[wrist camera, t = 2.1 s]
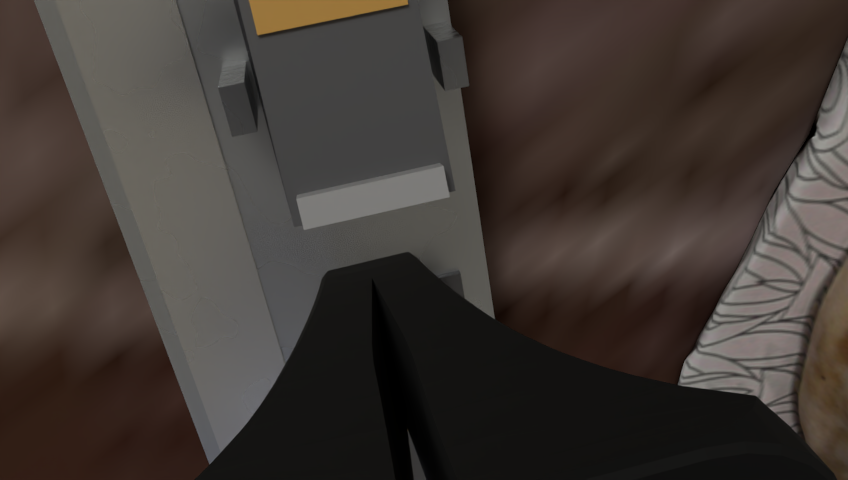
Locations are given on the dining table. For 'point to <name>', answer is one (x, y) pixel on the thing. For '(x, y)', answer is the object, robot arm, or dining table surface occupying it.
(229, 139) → the power strip
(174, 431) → the dining table surface
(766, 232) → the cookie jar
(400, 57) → the rocker
